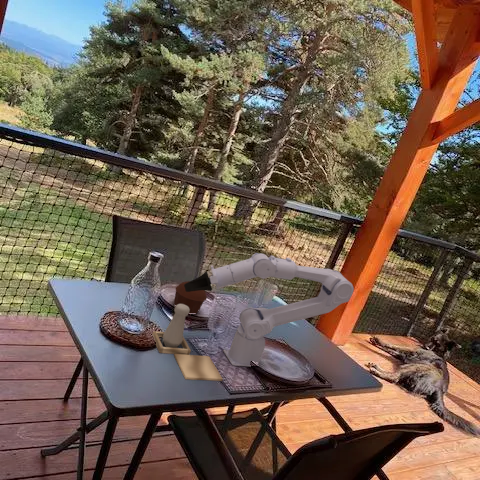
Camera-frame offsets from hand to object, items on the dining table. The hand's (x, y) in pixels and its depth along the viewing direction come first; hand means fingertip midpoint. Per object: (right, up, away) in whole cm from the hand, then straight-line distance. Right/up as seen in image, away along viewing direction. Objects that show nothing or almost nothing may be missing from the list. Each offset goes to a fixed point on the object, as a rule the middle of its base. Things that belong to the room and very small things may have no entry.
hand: (185, 287), depth 130 cm
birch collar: (-5, -17, +4) cm, 19 cm away
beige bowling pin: (-5, -17, +4) cm, 19 cm away
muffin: (-4, -11, +32) cm, 34 cm away
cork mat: (+4, -22, -3) cm, 23 cm away
